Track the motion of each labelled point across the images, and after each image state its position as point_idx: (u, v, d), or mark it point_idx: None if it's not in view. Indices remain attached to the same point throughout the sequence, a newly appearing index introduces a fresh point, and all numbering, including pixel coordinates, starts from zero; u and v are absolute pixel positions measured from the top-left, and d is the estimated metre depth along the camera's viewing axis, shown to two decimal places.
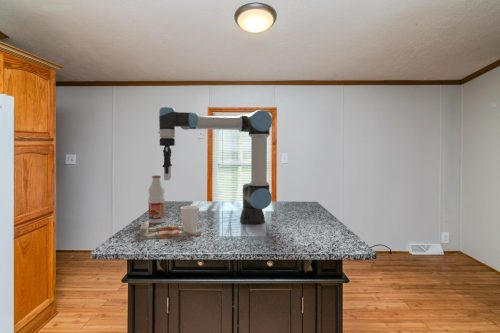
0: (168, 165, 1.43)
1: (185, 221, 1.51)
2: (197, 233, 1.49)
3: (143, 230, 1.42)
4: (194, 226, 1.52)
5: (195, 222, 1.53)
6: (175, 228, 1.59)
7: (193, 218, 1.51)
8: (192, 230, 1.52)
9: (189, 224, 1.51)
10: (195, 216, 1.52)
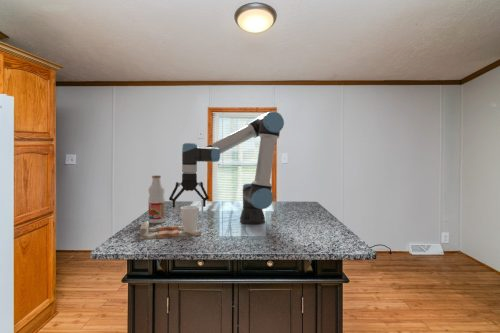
0: (169, 199, 1.51)
1: (185, 221, 1.51)
2: (197, 233, 1.49)
3: (143, 230, 1.42)
4: (194, 226, 1.52)
5: (195, 222, 1.53)
6: (175, 228, 1.59)
7: (193, 218, 1.51)
8: (192, 230, 1.52)
9: (189, 224, 1.51)
10: (195, 216, 1.52)
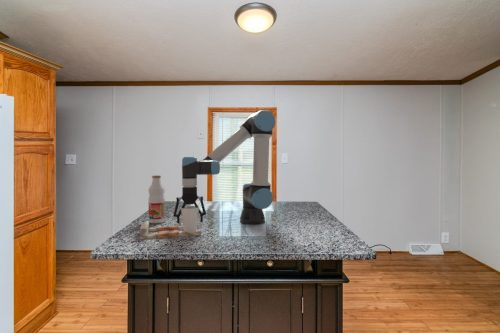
0: None
1: (185, 221, 1.51)
2: (197, 233, 1.49)
3: (143, 230, 1.42)
4: (194, 226, 1.52)
5: (195, 222, 1.53)
6: (175, 228, 1.59)
7: (193, 218, 1.51)
8: (192, 230, 1.52)
9: (189, 224, 1.51)
10: (195, 216, 1.52)
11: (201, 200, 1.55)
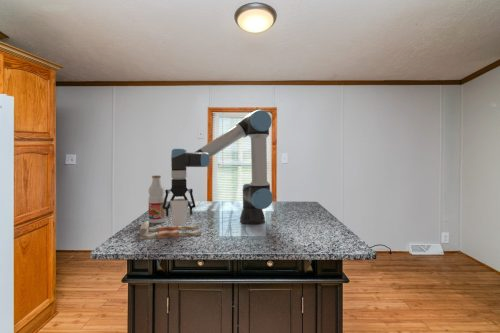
0: None
1: (174, 213, 1.50)
2: (197, 233, 1.49)
3: (143, 230, 1.42)
4: (183, 218, 1.51)
5: (184, 214, 1.51)
6: (175, 228, 1.59)
7: (182, 210, 1.50)
8: (181, 223, 1.51)
9: (178, 216, 1.50)
10: (184, 208, 1.51)
11: (190, 192, 1.53)
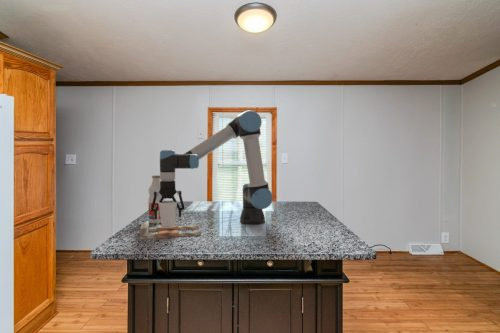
0: (151, 210, 1.49)
1: (162, 215, 1.48)
2: (197, 233, 1.49)
3: (143, 230, 1.42)
4: (172, 220, 1.49)
5: (173, 217, 1.50)
6: (175, 228, 1.59)
7: (171, 212, 1.49)
8: (170, 225, 1.49)
9: (166, 219, 1.48)
10: (173, 210, 1.49)
11: (179, 194, 1.52)
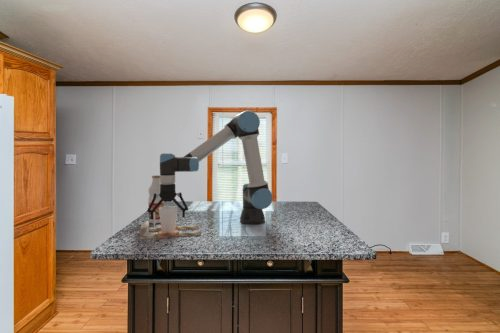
0: (147, 211, 1.48)
1: (163, 222, 1.48)
2: (197, 233, 1.49)
3: (143, 230, 1.42)
4: (172, 226, 1.50)
5: (173, 223, 1.50)
6: (175, 228, 1.59)
7: (171, 219, 1.49)
8: (170, 231, 1.49)
9: (167, 225, 1.48)
10: (173, 217, 1.49)
11: (180, 196, 1.52)
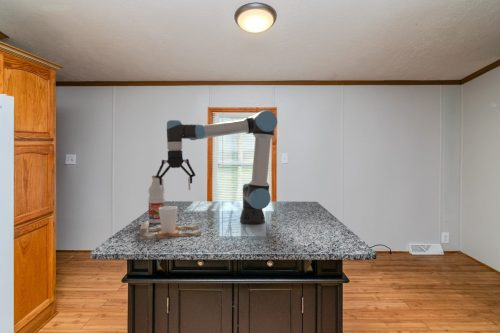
0: None
1: (163, 222, 1.48)
2: (197, 233, 1.49)
3: (143, 230, 1.42)
4: (172, 226, 1.50)
5: (173, 223, 1.50)
6: (175, 228, 1.59)
7: (171, 219, 1.49)
8: (170, 231, 1.49)
9: (167, 225, 1.48)
10: (173, 217, 1.49)
11: (187, 162, 1.56)
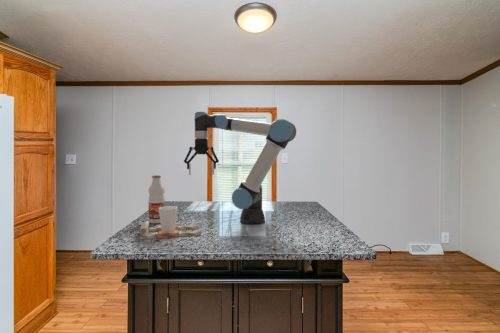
0: None
1: (163, 222, 1.48)
2: (197, 233, 1.49)
3: (143, 230, 1.42)
4: (172, 226, 1.50)
5: (173, 223, 1.50)
6: (175, 228, 1.59)
7: (171, 219, 1.49)
8: (170, 231, 1.49)
9: (167, 225, 1.48)
10: (173, 217, 1.49)
11: (212, 150, 1.74)
